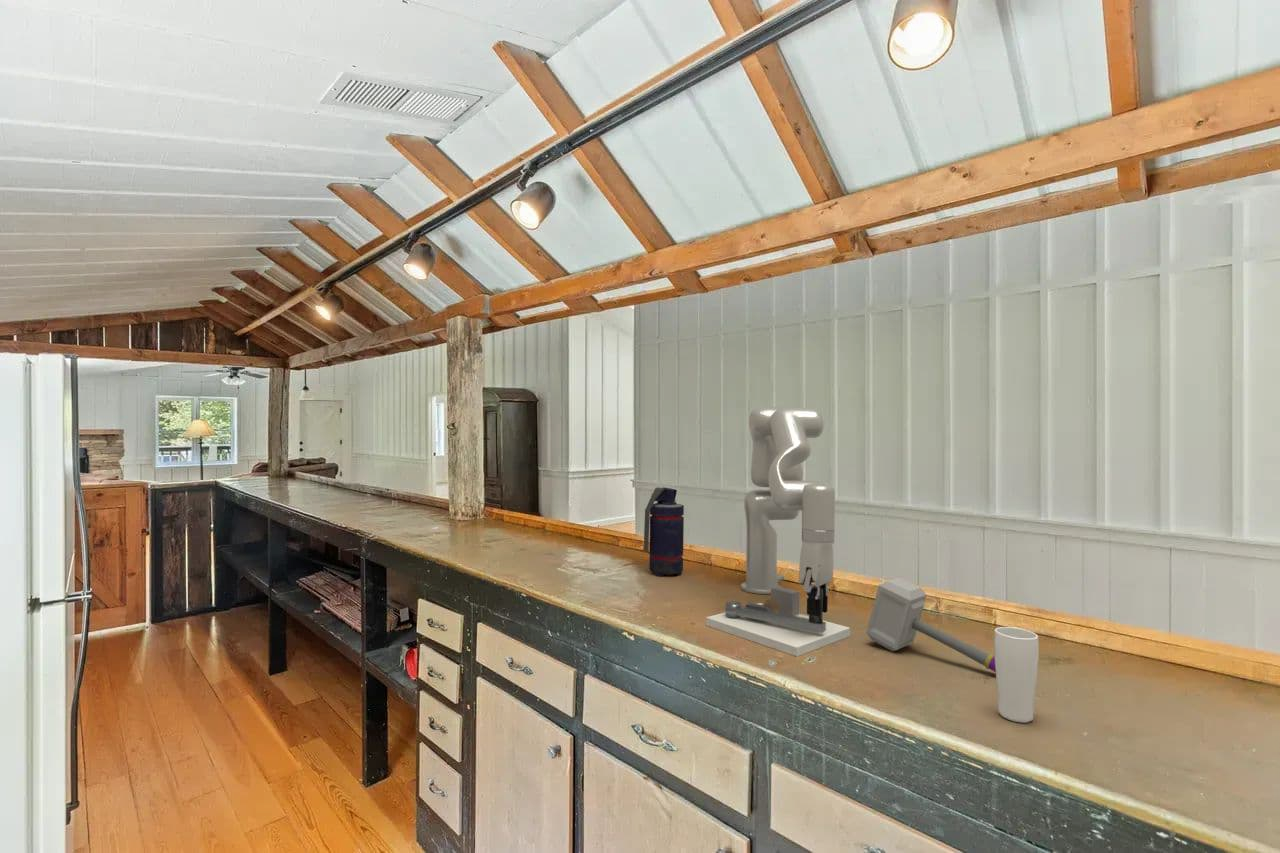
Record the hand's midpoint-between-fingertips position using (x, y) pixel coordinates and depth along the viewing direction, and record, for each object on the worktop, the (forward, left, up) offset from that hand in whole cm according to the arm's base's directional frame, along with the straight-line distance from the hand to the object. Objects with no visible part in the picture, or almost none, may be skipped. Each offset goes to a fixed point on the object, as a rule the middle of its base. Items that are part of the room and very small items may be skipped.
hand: (817, 612), depth 147 cm
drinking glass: (+5, +44, -8) cm, 45 cm away
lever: (+2, -11, -5) cm, 12 cm away
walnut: (-2, -16, -5) cm, 17 cm away
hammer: (-12, +24, -8) cm, 28 cm away
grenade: (-19, -75, -8) cm, 77 cm away
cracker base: (0, -12, -7) cm, 14 cm away
